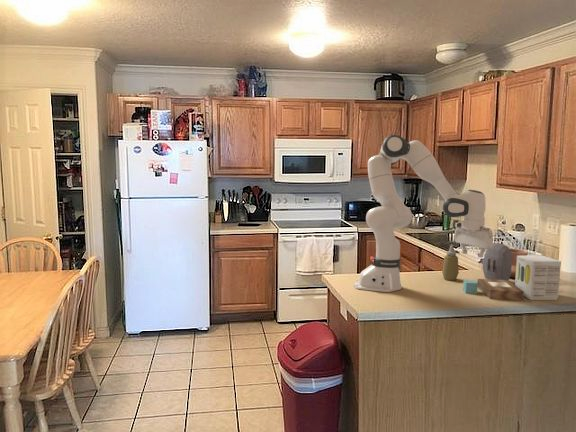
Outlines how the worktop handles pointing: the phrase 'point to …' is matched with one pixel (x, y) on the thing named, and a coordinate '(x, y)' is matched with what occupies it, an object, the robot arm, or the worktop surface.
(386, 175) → the robot arm
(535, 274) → the supplement box
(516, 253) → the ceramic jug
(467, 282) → the teal cube
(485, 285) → the walnut plinth
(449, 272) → the squeeze bottle
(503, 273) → the small grey backpack
